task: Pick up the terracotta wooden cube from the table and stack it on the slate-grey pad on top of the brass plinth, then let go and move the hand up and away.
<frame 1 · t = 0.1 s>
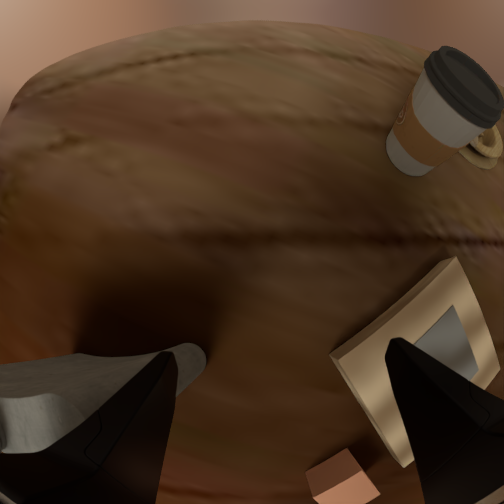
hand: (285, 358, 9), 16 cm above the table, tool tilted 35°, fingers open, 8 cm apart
hip flask: (131, 369, 23), on the table, touching gripper
coffee cup: (406, 155, 28), on the table
tableware set: (497, 152, 29), on the table
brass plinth: (424, 364, 23), on the table
terracotta cube: (335, 472, 21), on the table
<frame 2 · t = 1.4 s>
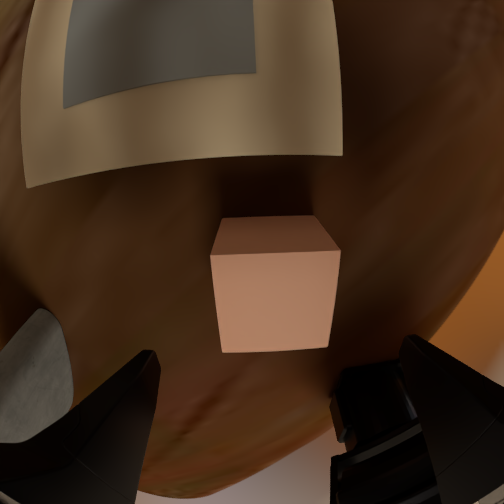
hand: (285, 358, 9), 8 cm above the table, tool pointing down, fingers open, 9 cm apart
hip flask: (58, 367, 21), on the table
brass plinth: (167, 23, 10), on the table
terracotta cube: (269, 257, 16), on the table
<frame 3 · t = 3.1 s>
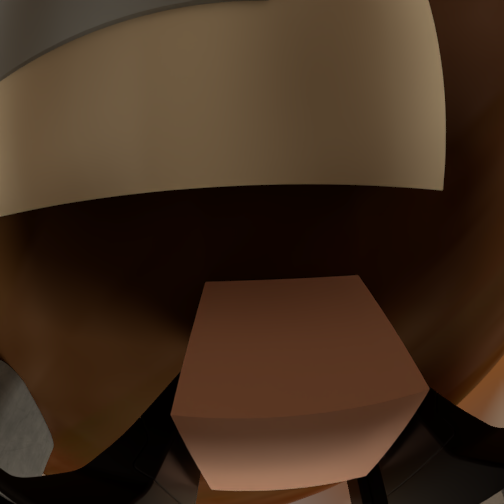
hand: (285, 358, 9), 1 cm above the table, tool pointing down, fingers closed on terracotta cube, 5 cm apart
hip flask: (32, 415, 15), on the table
terracotta cube: (282, 338, 10), on the table, touching gripper
when the fingers open (6 cm above the table, at t = 7.2 s): terracotta cube drops 1 cm, resting on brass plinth.
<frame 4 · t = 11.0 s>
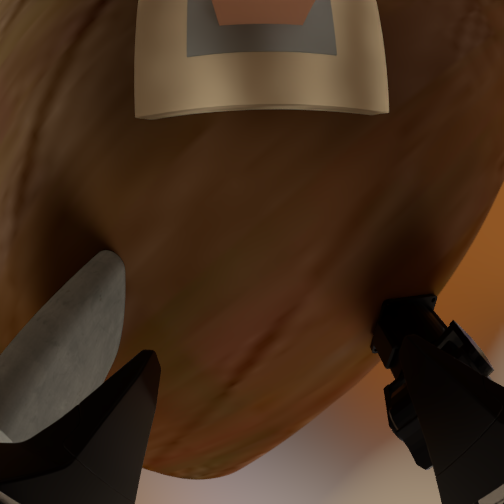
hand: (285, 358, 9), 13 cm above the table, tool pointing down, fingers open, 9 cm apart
hip flask: (107, 319, 24), on the table
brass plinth: (258, 13, 14), on the table
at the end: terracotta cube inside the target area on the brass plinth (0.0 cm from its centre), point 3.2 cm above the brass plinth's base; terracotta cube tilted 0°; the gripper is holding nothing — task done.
